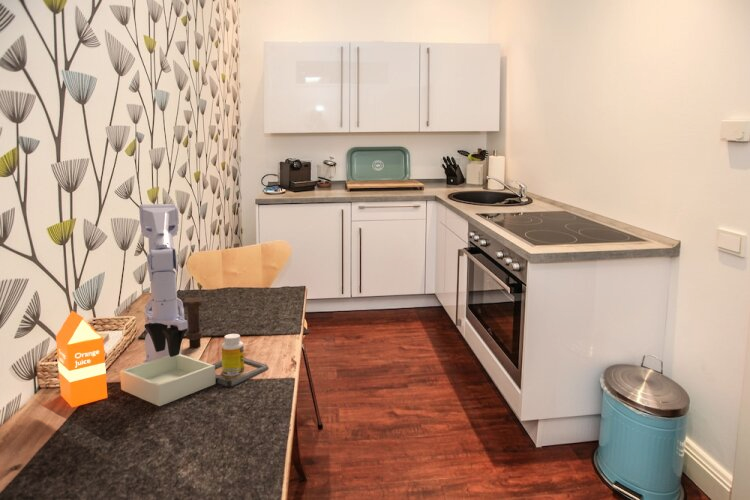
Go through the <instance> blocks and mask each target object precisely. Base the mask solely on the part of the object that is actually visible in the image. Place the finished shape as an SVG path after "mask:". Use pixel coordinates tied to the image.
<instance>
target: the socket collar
mask: <svg viewBox="0 0 750 500" xmlns="http://www.w3.org/2000/svg"><path fill="white" fill-rule="evenodd" d="M211 364H212V365H215V370H216V369H218V368H220V367H221V368H222V360H219V361H217V362H214V363H211ZM244 364H248V365H251V366H254V367H256V369H254V370H253V369H252V370H250V371H248V372H246V373H243V374H239V375H237V376H235V377H233V378H231V379H230V378H228V377H224V376H222V375H218V374H216V373H215V381H216V384H219V385H222V386H224V387H234V386H236V385H238V384H241V383H243V382H245V381H247V380H248V379H251V378H253V377H255V376H257V375H259V374H261V373H263V372H265V371H267V370H269V369H270V368H269V366H268V365H267V364H266V363H264V362H259V361H257V360H252V359H249V358H245V357H244Z"/></svg>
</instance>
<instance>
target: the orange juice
mask: <svg viewBox="0 0 750 500" xmlns="http://www.w3.org/2000/svg"><path fill="white" fill-rule="evenodd" d="M55 340H56V352H57V354H56V355H57V365H58V367H57V368H58V374H59V375H58V376H59V386H60V396H61V398H63V400H65V401H66V403H68V405H69V406H70V407H71V408H76V407H79V406H82V405H86V404H89V403H90V404H91V403H93V402H98V401H100V400H104V399H107V398H108V387H107V375H106V374H107V369H106V360H105V358H106V357H105V346H104V345H105V344H104V337H102V336H101V335H100V334H99V332H98V331H96V330H95V329H94V327H92V326H91V325H90V324H89V323H88V322H87V320H85V319H84V316H81V315H79V314H78V313H77V312H75V311H74V310H71V311H70V313H69V314H68V317H67V318H66V319H65V321H64V322H63V324H62V326H61V328H59V330H58V332H57V334H56V335H55Z"/></svg>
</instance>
